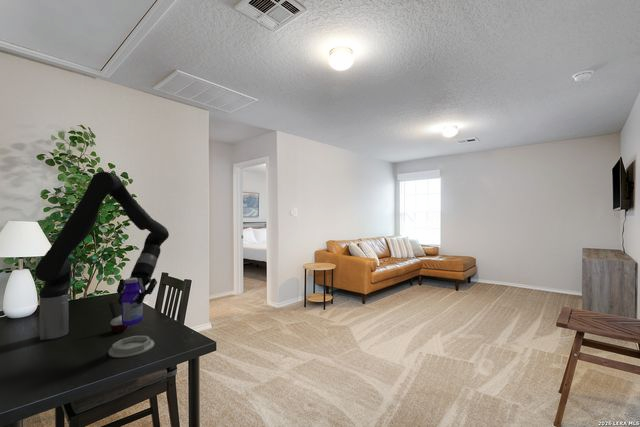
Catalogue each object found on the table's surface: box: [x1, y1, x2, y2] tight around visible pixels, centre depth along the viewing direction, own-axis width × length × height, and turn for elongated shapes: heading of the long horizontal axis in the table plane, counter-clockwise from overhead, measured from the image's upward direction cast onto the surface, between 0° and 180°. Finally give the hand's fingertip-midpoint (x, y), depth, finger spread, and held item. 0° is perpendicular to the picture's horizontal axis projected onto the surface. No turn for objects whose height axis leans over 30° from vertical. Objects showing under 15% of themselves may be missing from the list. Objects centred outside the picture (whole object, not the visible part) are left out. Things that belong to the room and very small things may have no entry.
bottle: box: [120, 277, 144, 327], centre depth 118 cm, size 7×6×17 cm
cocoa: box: [108, 302, 129, 334], centre depth 135 cm, size 10×6×12 cm, turn 51°
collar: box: [107, 335, 155, 358], centre depth 118 cm, size 15×15×2 cm
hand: (129, 303), depth 116 cm, fingers closed on bottle, 6 cm apart
